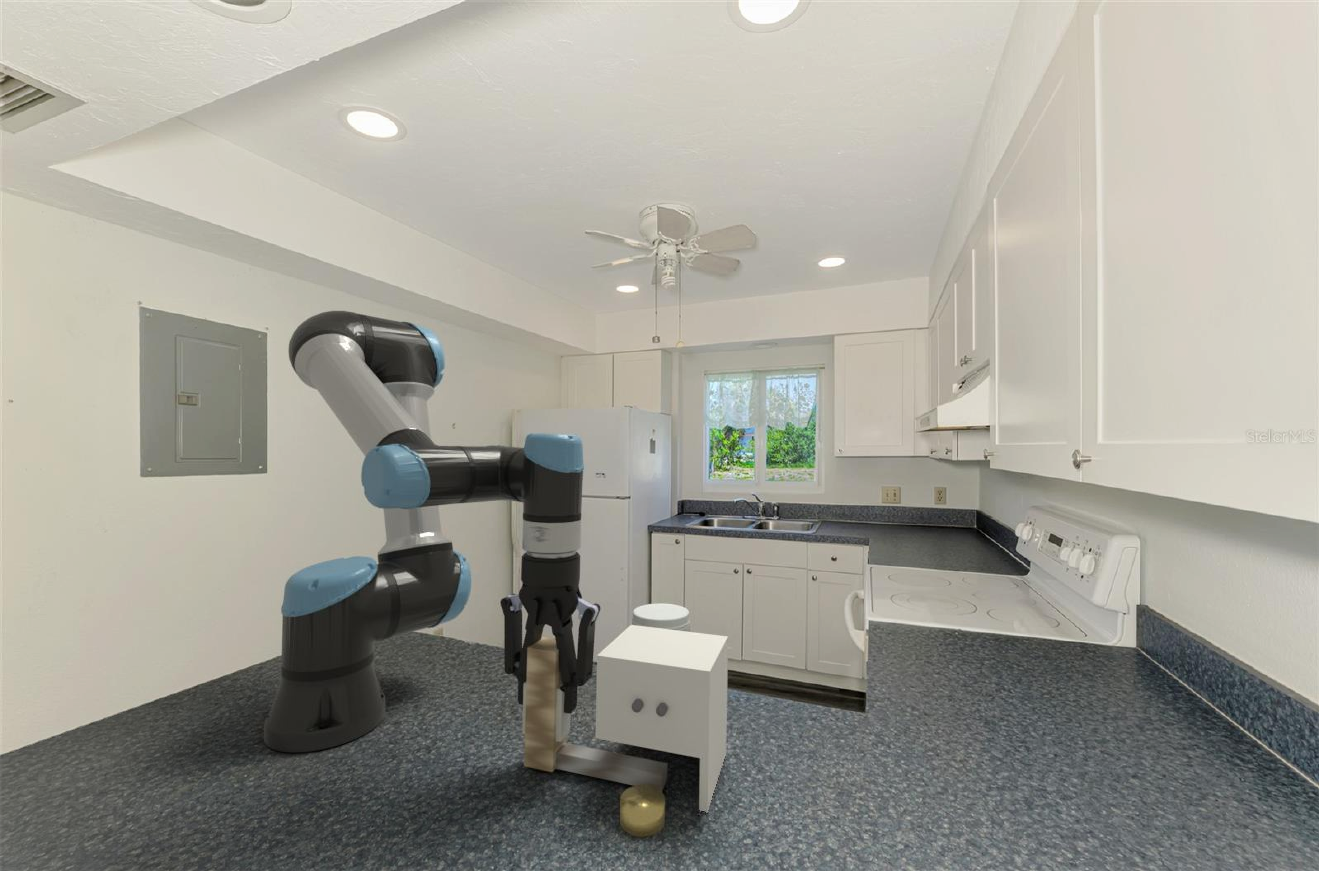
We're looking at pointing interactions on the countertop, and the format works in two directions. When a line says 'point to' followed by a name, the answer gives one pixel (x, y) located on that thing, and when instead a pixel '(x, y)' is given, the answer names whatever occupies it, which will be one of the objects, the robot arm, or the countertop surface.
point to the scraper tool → (562, 754)
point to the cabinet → (666, 696)
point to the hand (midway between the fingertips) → (546, 731)
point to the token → (642, 810)
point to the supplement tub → (662, 617)
